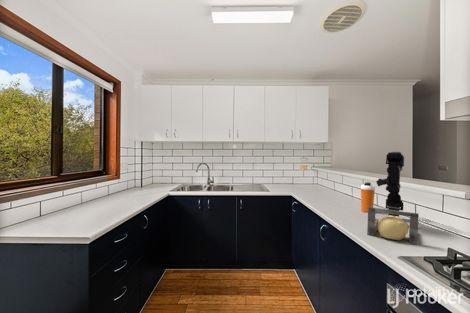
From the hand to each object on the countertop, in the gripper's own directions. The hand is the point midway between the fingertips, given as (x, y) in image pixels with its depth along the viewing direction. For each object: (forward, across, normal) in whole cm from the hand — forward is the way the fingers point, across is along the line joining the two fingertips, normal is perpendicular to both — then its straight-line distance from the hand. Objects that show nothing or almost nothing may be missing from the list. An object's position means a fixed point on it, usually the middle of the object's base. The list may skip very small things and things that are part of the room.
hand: (392, 201), depth 140 cm
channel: (+13, +19, +1) cm, 23 cm away
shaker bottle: (+13, -26, -16) cm, 33 cm away
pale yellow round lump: (+13, +26, +1) cm, 30 cm away
